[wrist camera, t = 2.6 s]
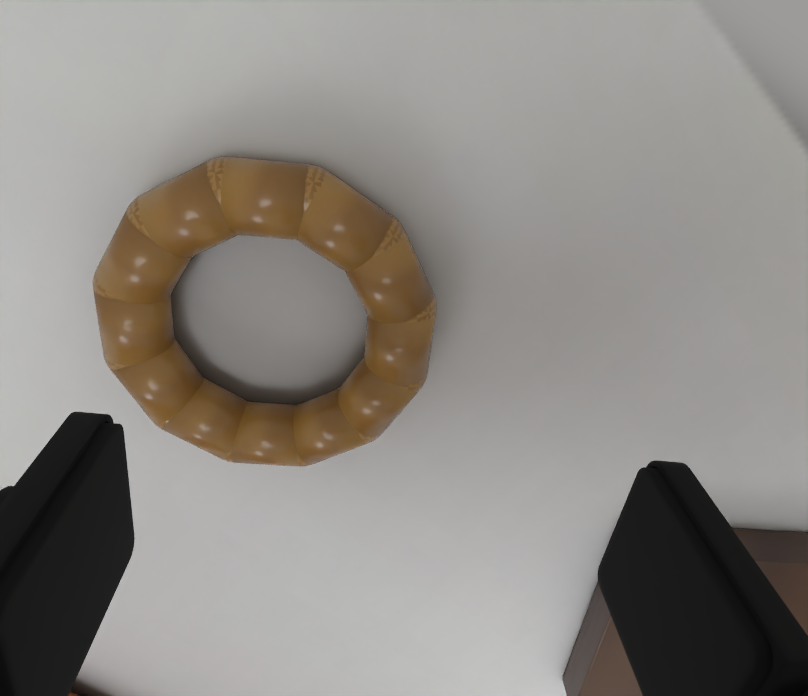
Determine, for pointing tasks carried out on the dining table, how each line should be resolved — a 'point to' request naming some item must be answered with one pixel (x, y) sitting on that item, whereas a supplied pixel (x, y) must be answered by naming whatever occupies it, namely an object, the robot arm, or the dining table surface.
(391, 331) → the ring
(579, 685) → the stand
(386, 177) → the dining table surface
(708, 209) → the dining table surface
